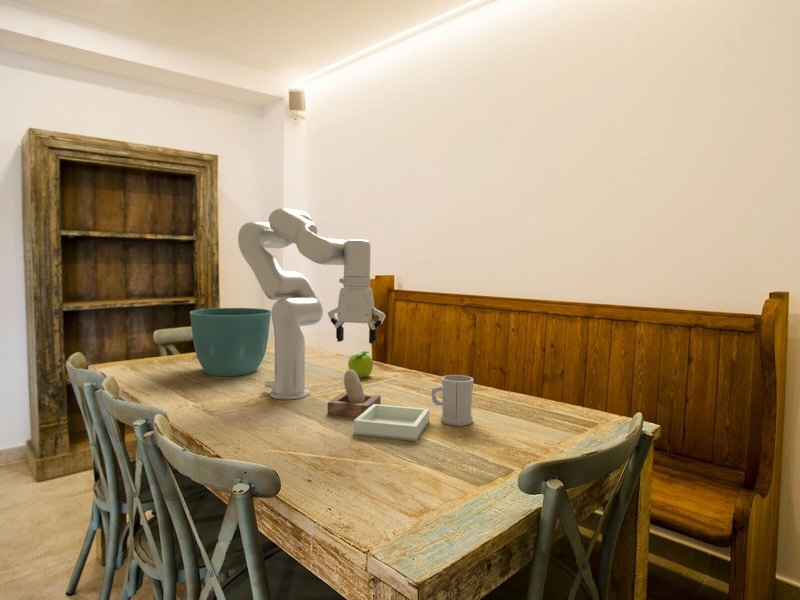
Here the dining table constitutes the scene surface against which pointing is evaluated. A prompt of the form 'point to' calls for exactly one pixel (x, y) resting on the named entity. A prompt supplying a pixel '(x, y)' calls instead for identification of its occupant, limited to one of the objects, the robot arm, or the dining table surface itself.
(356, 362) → the fruit
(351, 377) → the stone
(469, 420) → the cup
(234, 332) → the flower pot
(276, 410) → the dining table surface
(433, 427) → the dining table surface
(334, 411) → the pocket frame
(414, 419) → the tray
